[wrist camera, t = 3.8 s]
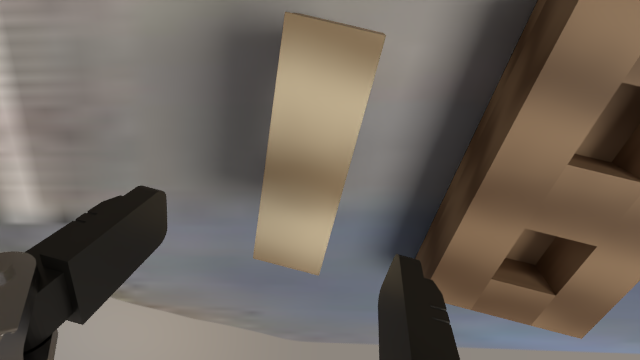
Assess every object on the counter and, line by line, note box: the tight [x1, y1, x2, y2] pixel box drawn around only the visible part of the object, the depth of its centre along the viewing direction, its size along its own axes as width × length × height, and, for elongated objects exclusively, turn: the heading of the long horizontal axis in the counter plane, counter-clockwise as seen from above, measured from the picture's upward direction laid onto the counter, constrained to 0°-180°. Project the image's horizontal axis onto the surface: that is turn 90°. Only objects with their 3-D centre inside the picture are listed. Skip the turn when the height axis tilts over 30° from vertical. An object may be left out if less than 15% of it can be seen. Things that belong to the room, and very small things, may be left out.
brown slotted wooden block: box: [415, 0, 640, 339], centre depth 20 cm, size 20×12×4 cm, turn 168°
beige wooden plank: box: [253, 12, 386, 275], centre depth 18 cm, size 13×4×8 cm, turn 168°
